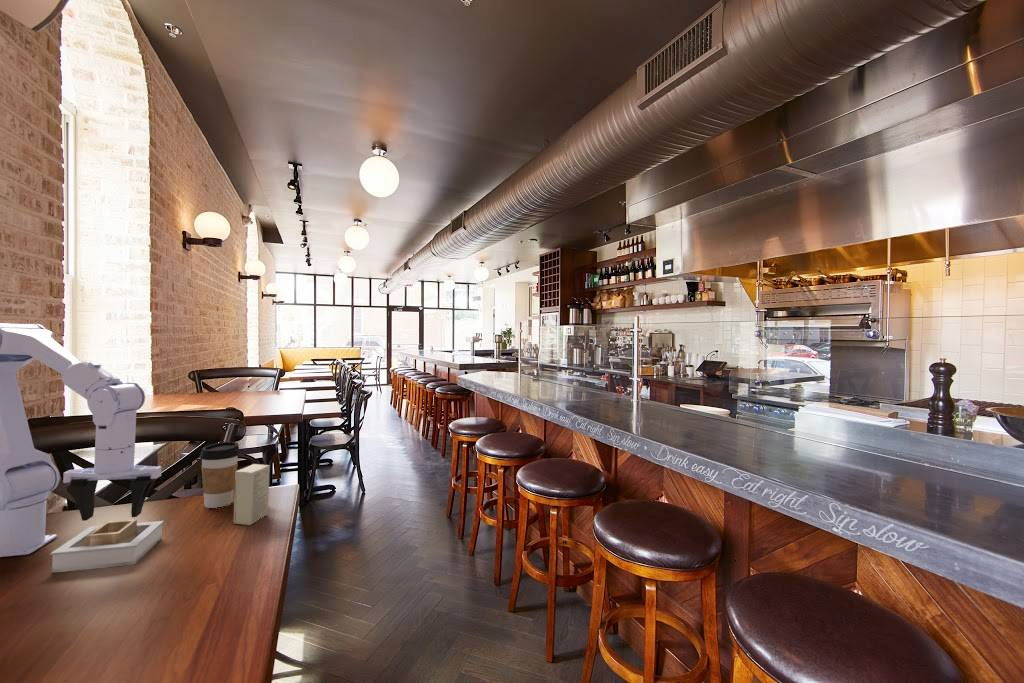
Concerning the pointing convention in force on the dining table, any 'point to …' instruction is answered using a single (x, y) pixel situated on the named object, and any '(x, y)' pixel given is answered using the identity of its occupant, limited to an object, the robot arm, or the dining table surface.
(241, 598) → the dining table surface
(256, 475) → the skincare box
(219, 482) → the coffee cup
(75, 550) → the white square tray
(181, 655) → the dining table surface
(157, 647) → the dining table surface
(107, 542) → the birch crate
